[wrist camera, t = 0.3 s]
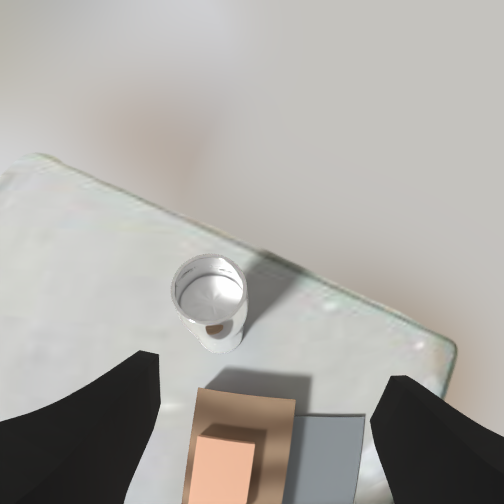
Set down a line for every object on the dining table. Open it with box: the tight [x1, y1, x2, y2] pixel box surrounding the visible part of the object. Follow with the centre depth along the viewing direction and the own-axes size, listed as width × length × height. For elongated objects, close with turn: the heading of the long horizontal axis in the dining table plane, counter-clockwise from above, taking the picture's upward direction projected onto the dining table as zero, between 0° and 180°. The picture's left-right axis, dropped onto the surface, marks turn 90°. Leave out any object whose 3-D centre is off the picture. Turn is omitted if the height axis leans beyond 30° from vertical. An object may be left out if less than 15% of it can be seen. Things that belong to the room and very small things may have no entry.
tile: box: [188, 434, 255, 504], centre depth 25 cm, size 9×6×2 cm, turn 173°
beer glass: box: [171, 254, 248, 354], centre depth 32 cm, size 7×7×15 cm
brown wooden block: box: [182, 388, 296, 504], centre depth 27 cm, size 20×11×4 cm, turn 173°
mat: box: [282, 416, 365, 504], centre depth 29 cm, size 16×10×1 cm, turn 173°
